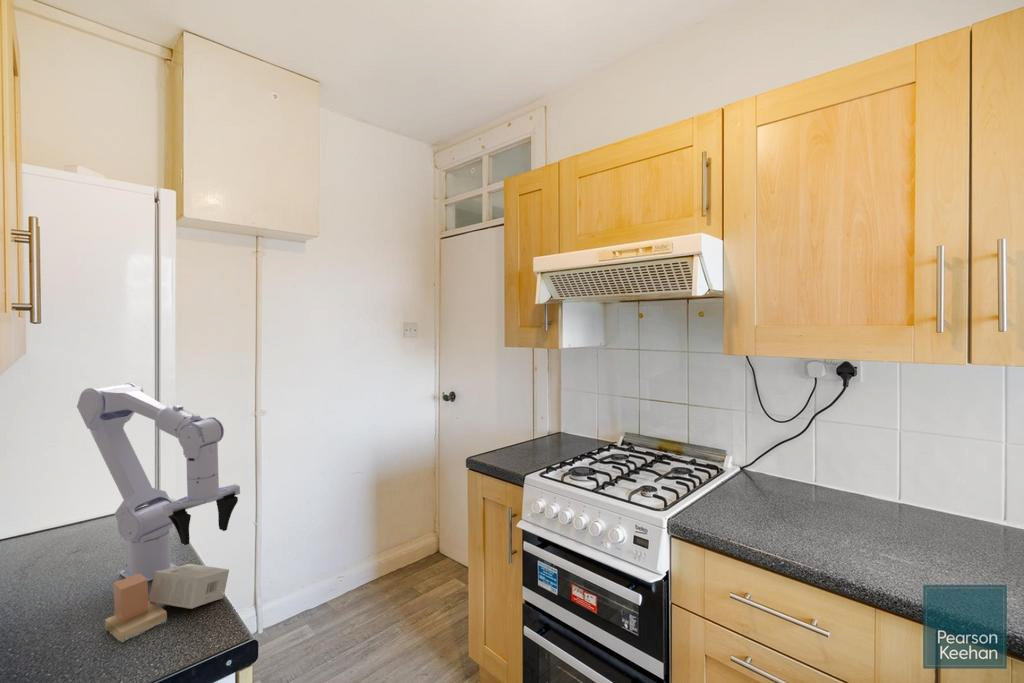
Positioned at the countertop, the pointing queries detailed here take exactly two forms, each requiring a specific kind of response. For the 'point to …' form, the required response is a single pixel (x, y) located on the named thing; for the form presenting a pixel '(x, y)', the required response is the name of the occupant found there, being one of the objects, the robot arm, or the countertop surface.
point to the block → (130, 597)
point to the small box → (188, 585)
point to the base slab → (136, 622)
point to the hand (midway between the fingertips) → (204, 536)
